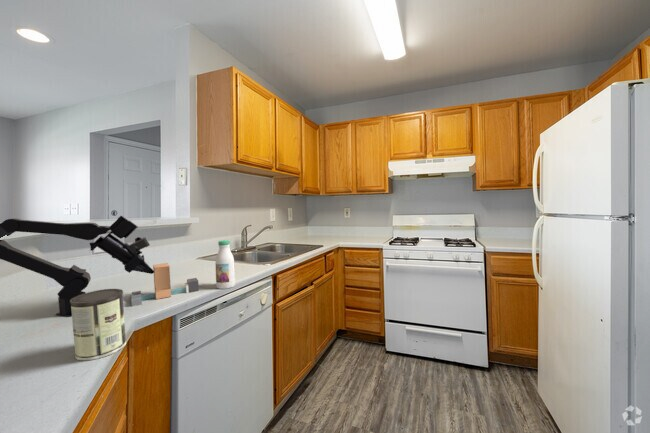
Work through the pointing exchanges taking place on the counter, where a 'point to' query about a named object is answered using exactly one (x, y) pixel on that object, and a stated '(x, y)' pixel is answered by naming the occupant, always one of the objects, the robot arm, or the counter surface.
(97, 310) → the coffee can
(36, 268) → the robot arm
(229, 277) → the milk bottle
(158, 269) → the sleeve
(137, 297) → the cable comb run
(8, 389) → the counter surface
